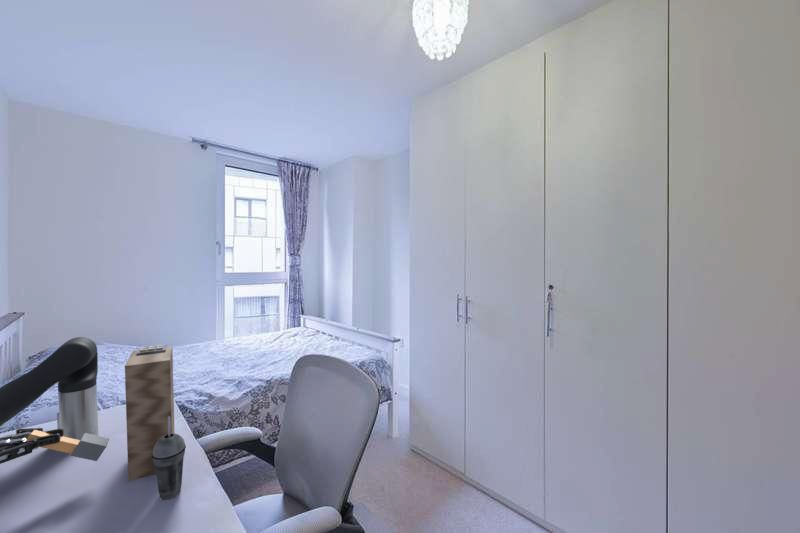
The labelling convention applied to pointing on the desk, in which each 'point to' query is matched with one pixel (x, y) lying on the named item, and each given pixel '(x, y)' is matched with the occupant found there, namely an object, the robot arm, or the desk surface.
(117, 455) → the desk surface
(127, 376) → the brown wooden tall block
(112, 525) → the desk surface
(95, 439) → the mallet
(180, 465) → the beverage cup
